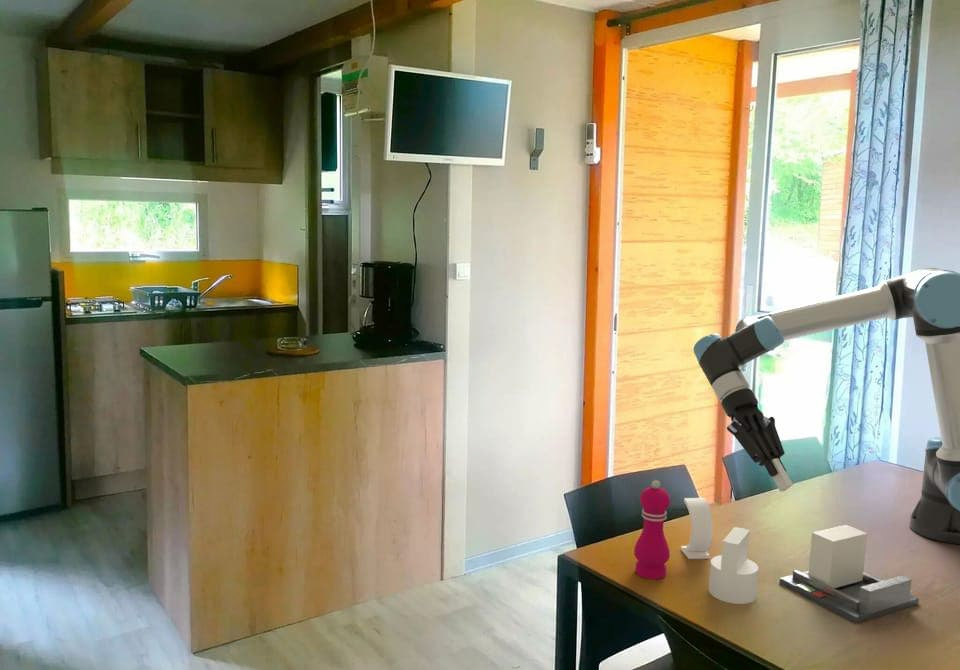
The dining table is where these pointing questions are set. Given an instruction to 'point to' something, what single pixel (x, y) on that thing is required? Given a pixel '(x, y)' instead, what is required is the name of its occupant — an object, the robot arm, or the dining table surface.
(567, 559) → the dining table surface
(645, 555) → the pepper mill
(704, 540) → the headphone stand
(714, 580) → the base with upright slab
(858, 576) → the white block
